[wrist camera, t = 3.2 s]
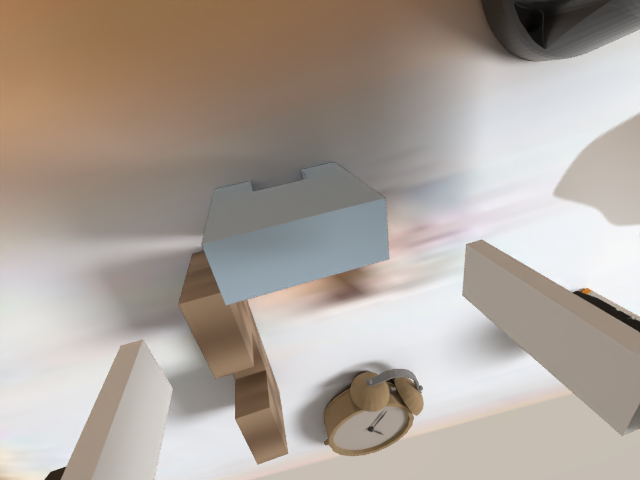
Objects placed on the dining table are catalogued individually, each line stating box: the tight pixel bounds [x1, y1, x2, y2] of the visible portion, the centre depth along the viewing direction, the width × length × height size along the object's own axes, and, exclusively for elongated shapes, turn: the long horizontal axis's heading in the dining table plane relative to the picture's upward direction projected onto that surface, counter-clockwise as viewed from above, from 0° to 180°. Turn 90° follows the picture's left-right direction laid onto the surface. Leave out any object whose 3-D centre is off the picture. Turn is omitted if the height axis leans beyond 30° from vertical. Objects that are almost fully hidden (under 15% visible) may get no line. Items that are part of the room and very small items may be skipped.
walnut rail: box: [178, 251, 288, 464], centre depth 28 cm, size 20×3×7 cm, turn 10°
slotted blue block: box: [201, 162, 389, 305], centre depth 21 cm, size 10×4×10 cm, turn 100°
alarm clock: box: [324, 369, 423, 456], centre depth 39 cm, size 11×5×15 cm
